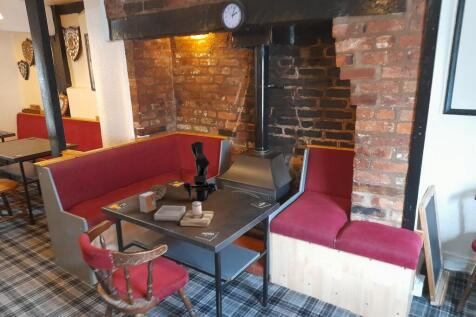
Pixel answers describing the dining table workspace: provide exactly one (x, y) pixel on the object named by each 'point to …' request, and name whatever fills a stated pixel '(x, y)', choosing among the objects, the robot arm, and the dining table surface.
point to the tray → (169, 213)
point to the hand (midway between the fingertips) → (198, 200)
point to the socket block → (204, 222)
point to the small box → (147, 202)
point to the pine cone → (158, 191)
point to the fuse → (197, 210)
